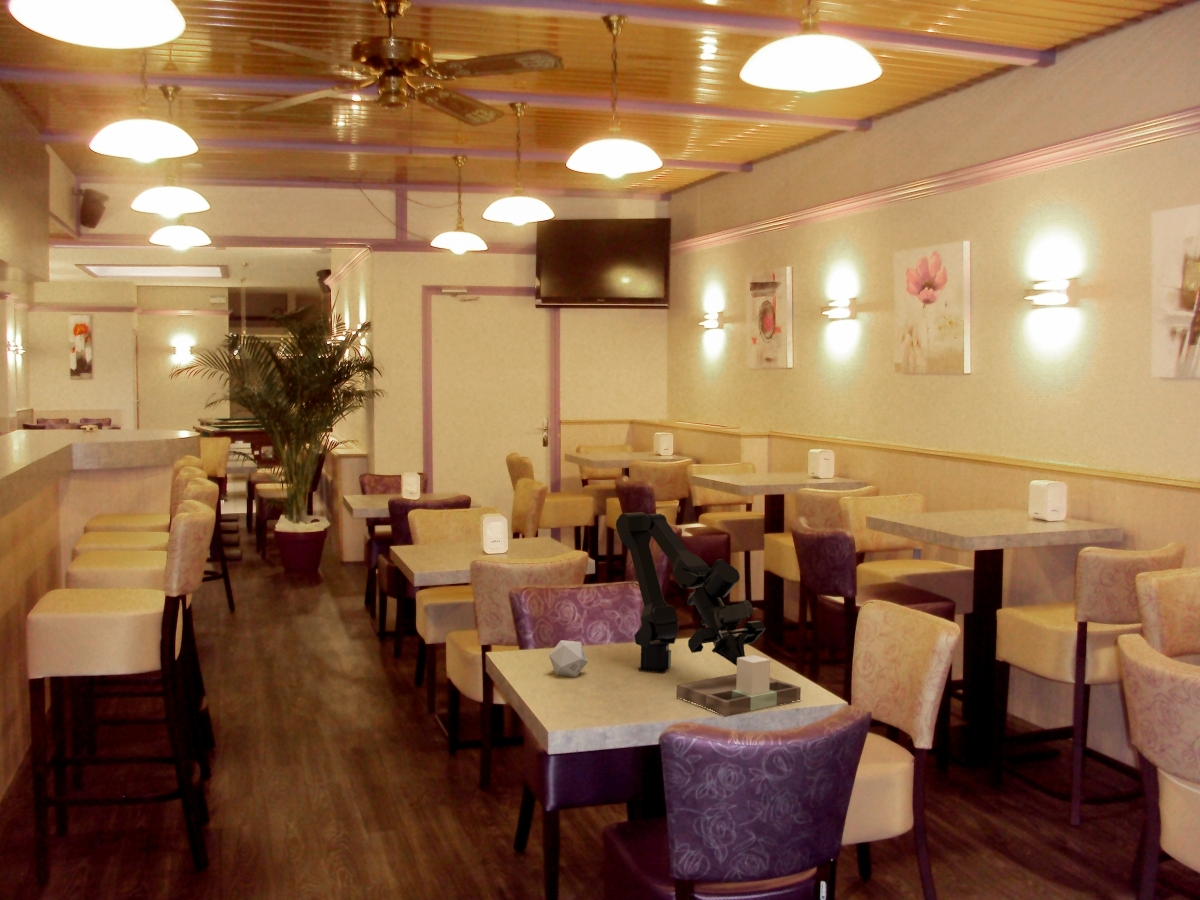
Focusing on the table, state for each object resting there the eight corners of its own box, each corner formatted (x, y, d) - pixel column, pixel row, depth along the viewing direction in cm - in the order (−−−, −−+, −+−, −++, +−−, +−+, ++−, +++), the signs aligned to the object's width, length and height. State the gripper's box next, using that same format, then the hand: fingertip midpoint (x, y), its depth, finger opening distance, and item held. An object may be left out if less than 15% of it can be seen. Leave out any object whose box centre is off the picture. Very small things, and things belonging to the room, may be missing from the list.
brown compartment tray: (676, 697, 240) (676, 684, 240) (750, 683, 252) (750, 671, 252) (724, 716, 227) (725, 702, 226) (800, 700, 239) (800, 687, 239)
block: (736, 689, 236) (737, 657, 236) (753, 686, 239) (754, 654, 239) (752, 695, 232) (752, 662, 232) (769, 691, 235) (770, 659, 235)
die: (563, 684, 252) (588, 650, 252) (536, 661, 255) (562, 628, 256) (574, 688, 259) (599, 655, 260) (549, 665, 263) (573, 634, 263)
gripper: (697, 592, 236) (730, 653, 227) (760, 585, 246) (794, 642, 238) (673, 622, 243) (705, 682, 234) (736, 613, 253) (768, 670, 245)
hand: (744, 668), depth 238 cm, fingers closed, pressing on block
